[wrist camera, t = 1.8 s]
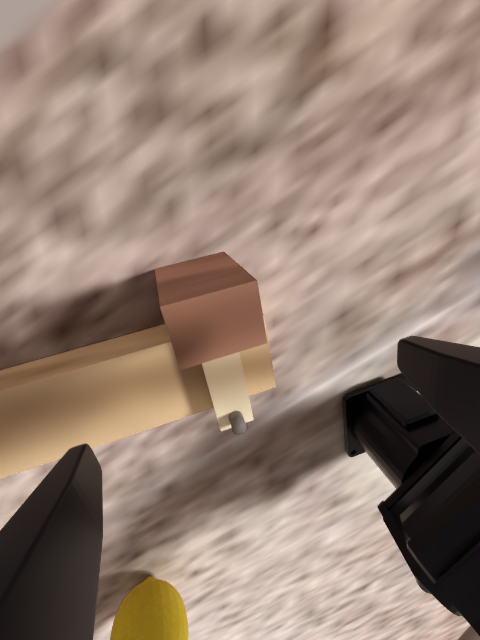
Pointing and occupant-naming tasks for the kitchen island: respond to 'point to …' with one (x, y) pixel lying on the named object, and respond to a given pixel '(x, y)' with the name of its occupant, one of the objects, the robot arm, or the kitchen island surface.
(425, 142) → the kitchen island surface
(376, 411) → the robot arm
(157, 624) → the lemon
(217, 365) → the chocolate colored brick
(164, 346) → the plank
